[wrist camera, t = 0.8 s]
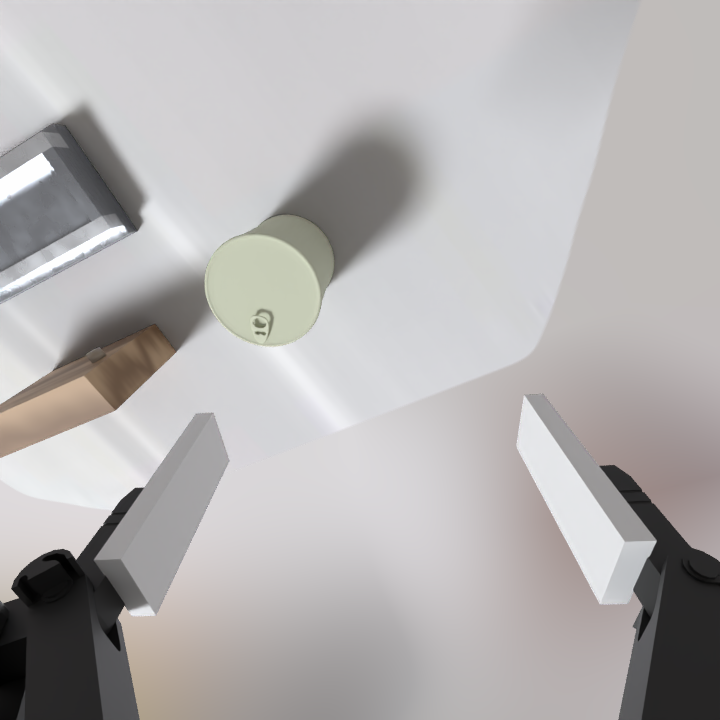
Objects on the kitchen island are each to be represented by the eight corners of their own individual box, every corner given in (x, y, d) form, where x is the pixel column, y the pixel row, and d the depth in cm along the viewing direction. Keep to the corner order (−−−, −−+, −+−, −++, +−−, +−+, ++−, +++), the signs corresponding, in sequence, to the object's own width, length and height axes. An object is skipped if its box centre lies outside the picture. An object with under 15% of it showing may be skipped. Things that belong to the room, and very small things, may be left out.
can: (246, 295, 40) (203, 341, 30) (247, 207, 36) (197, 223, 25) (329, 308, 41) (315, 357, 30) (339, 222, 37) (328, 245, 26)
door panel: (46, 364, 45) (-53, 424, 34) (149, 316, 42) (75, 366, 31) (76, 395, 47) (-9, 461, 37) (176, 351, 44) (115, 410, 33)
